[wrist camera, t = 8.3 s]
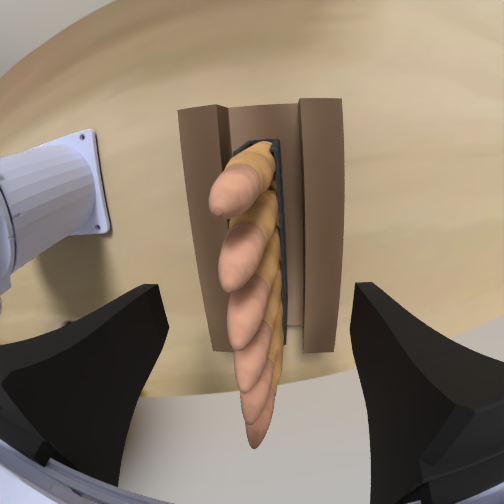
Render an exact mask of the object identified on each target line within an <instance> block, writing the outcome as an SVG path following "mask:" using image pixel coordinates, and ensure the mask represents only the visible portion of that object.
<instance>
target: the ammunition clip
mask: <svg viewBox="0 0 504 504" xmlns="http://www.w3.org/2000/svg"><path fill="white" fill-rule="evenodd" d="M209 209H210V211H211V213H212V215H213V216H214V217H216V218H218V219H224V220H227V219H230V222H229V229H228V231H227V235H226V238H225V240H224V242H223V245H222V249H221V253H220V257H219V263H218V273H219V280H220V284H221V286H222V288H223V290H224V291H225V292H226V293H231V296H230V299H229V304H228V311H227V329H228V337H229V341H230V344H231V346H232V348H233V349H234V350H235V353H234V368H235V376H236V381H237V385H238V387H239V390H240V398H241V407H242V413H243V417H244V419H245V424H246V432H247V437H248V441H249V444H250V446H251V448H253V449H256V448H257V447H258V446H259V445H260V443H261V442H262V440H263V439H264V437H265V435H266V432H267V430H268V427H269V425H270V422H271V418H272V414H273V409H274V401H275V396H276V390H277V383H278V380H279V378H280V375H281V371H282V359H283V345H286V336H287V311H288V284H287V256H286V233H285V213H284V195H283V178H282V163H281V148H280V140H279V139H262V140H249V141H248V142H246V143H245V144H243V145H242V146H241V147H239V148H238V149H237V150H235V151H233V158H231V159H230V161H229V162H228V164H227V165H226V167H225V170H224V171H223V172H222V173H221V174H220V175H219V177H218V178H217V179H216V181H215V182H214V184H213V186H212V188H211V191H210V196H209Z"/></svg>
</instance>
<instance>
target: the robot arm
mask: <svg viewBox="0 0 504 504" xmlns="http://www.w3.org/2000/svg"><path fill="white" fill-rule="evenodd" d="M83 135H84V136H85V139H83ZM98 225H99V226H100V229H99V228H98ZM109 230H110V223H109V218H108V213H107V208H106V203H105V198H104V192H103V187H102V181H101V175H100V168H99V161H98V154H97V146H96V138H95V132H94V130H92V129H86V130H83V131H80V132H77V133H73V134H70V135H67V136H64V137H61V138H59V139H56V140H53V141H50V142H47V143H45V144H42V145H39V146H37V147H34V148H32V149H29V150H27V151H24V152H20V153H17V154H13V155H9V156H5V157H2V158H0V296H1V295H2V294H3V293H4V292H6V291H7V290H8V289H9V288H11V282H10V275H11V274H12V273H13V272H15V271H16V270H17V269H19V268H20V267H22V266H23V265H24V264H26V263H27V262H29V261H30V260H32V259H33V258H35V257H36V256H37V255H39V254H40V253H42V252H43V251H45V250H46V249H48V248H49V247H51V246H52V245H54V244H56V243H57V242H59V241H60V240H62V239H63V238H65V237H66V236H73V235H87V234H101V233H107V232H108V231H109ZM1 310H2V301H1V297H0V314H1ZM168 330H169V325H168V321H167V317H166V314H165V310H164V306H163V302H162V298H161V294H160V290H159V286H158V284H143V285H141V286H138V287H136V288H134V289H132V290H131V291H129V292H127V293H125V294H123V295H122V296H120V297H118V298H117V299H115V300H113V301H111V302H110V303H108V304H106V305H105V306H103V307H101V308H99V309H97V310H96V311H94V312H92V313H90V314H88V315H86V316H85V317H83V318H81V319H79V320H77V321H75V322H73V323H71V324H68V325H66V326H64V327H62V328H59V329H57V330H54V331H51V332H49V333H46V334H43V335H40V336H37V337H34V338H31V339H27V340H23V341H19V342H15V343H10V344H4V345H0V504H93V503H91V502H90V501H88V500H86V499H89V500H91V501H93V502H95V503H98V504H173V503H169V502H165V501H161V500H157V499H153V498H149V497H146V496H143V495H139V494H136V493H133V492H130V491H127V490H124V489H121V488H118V481H119V473H120V466H121V460H122V455H123V450H124V446H125V441H126V437H127V433H128V430H129V426H130V422H131V419H132V416H133V413H134V409H135V406H136V404H137V401H138V398H139V396H140V394H141V391H142V389H143V387H144V385H145V383H146V381H147V379H148V377H149V375H150V373H151V371H152V369H153V367H154V365H155V363H156V361H157V359H158V357H159V355H160V353H161V351H162V349H163V346H164V343H165V340H166V337H167V333H168ZM350 336H351V343H352V350H353V355H354V359H355V363H356V367H357V370H358V374H359V378H360V382H361V386H362V390H363V394H364V398H365V402H366V408H367V414H368V424H369V435H370V449H371V450H370V452H371V495H370V504H504V362H502V361H499V360H496V359H493V358H490V357H487V356H485V355H482V354H480V353H477V352H475V351H473V350H470V349H468V348H466V347H464V346H462V345H460V344H458V343H456V342H454V341H452V340H450V339H449V338H447V337H445V336H444V335H442V334H440V333H439V332H437V331H435V330H434V329H432V328H431V327H429V326H427V325H426V324H425V323H423V322H422V321H420V320H419V319H418V318H416V317H415V316H413V315H412V314H411V313H410V312H408V311H407V310H406V309H404V308H403V307H402V306H401V305H399V304H398V303H397V302H396V301H395V300H393V299H392V298H391V297H390V296H389V295H387V294H386V293H385V292H384V291H383V290H381V289H380V288H379V287H378V286H376V285H375V284H374V283H372V282H362V283H355V290H354V299H353V308H352V315H351V323H350ZM81 496H82V497H84V498H86V499H84V498H82V497H81Z"/></svg>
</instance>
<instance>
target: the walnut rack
mask: <svg viewBox="0 0 504 504" xmlns="http://www.w3.org/2000/svg"><path fill="white" fill-rule="evenodd" d="M178 121H179V131H180V141H181V150H182V159H183V168H184V176H185V185H186V192H187V200H188V207H189V215H190V222H191V228H192V235H193V242H194V248H195V254H196V261H197V267H198V273H199V279H200V284H201V290H202V296H203V301H204V307H205V312H206V317H207V322H208V328H209V333H210V338H211V343H212V347H213V351H222V352H235V350H234V349H233V348H232V346H231V344H230V341H229V337H228V329H227V311H228V304H229V299H230V296H231V293H226V292H225V291H224V290H223V288H222V286H221V284H220V280H219V273H218V263H219V257H220V253H221V249H222V245H223V242H224V240H225V238H226V235H227V231H228V229H229V222H230V219H227V220H224V219H218V218H216V217H214V216H213V215H212V213H211V211H210V209H209V196H210V191H211V188H212V186H213V184H214V182H215V181H216V179H217V178H218V177H219V175H220V174H221V173H222V172H223V171H224V170H225V167H226V165H227V164H228V162H229V161H230V159H231V158H233V151H235V150H237V149H238V148H239V147H241V146H242V145H243V144H245V143H246V142H248V141H249V140H262V139H279V140H280V148H281V163H282V178H283V195H284V213H285V233H286V256H287V284H288V311H287V325H303V353H319V352H334V345H335V337H336V328H337V319H338V309H339V298H340V285H341V271H342V255H343V233H344V133H343V112H342V99H338V98H300V99H299V102H298V104H272V105H257V106H244V107H233V108H226V107H223V106H220V105H208V106H201V107H194V108H187V109H181V110H178Z"/></svg>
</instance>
